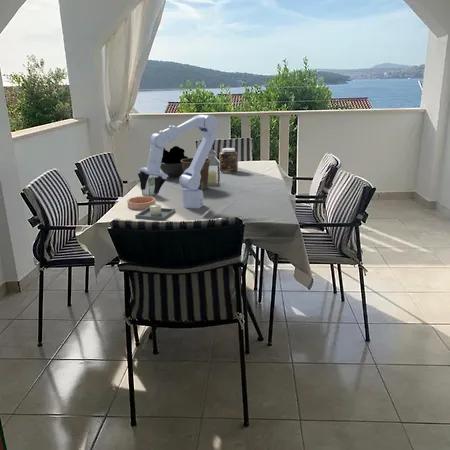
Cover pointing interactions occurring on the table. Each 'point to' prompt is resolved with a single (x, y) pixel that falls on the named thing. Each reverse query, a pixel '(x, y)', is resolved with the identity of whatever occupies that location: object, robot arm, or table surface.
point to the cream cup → (155, 210)
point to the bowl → (141, 202)
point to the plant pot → (203, 172)
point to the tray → (146, 215)
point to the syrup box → (149, 185)
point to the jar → (228, 160)
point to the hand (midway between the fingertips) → (149, 191)
